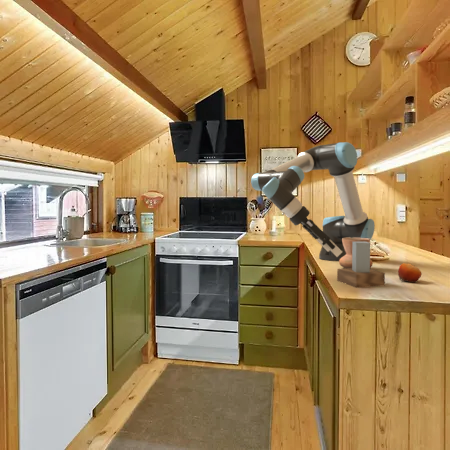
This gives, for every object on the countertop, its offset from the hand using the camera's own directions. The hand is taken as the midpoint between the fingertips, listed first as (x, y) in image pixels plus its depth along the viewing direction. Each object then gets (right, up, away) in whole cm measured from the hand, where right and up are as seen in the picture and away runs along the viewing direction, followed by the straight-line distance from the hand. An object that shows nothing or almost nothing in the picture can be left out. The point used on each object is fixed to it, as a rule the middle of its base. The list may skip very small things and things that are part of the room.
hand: (334, 251), depth 137 cm
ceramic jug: (+18, -10, +28) cm, 35 cm away
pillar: (+10, -7, -1) cm, 12 cm away
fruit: (+29, -12, +2) cm, 32 cm away
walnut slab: (+10, -12, 0) cm, 15 cm away
